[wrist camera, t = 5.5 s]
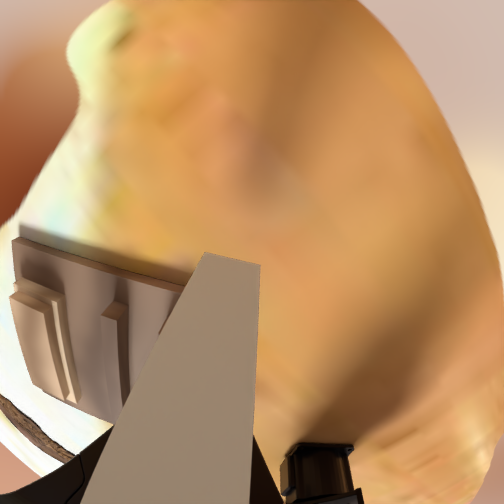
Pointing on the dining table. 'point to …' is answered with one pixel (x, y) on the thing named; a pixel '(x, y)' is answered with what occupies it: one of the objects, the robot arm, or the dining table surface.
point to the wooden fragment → (33, 432)
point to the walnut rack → (101, 320)
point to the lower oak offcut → (61, 326)
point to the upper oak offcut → (39, 343)
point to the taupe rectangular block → (191, 400)
